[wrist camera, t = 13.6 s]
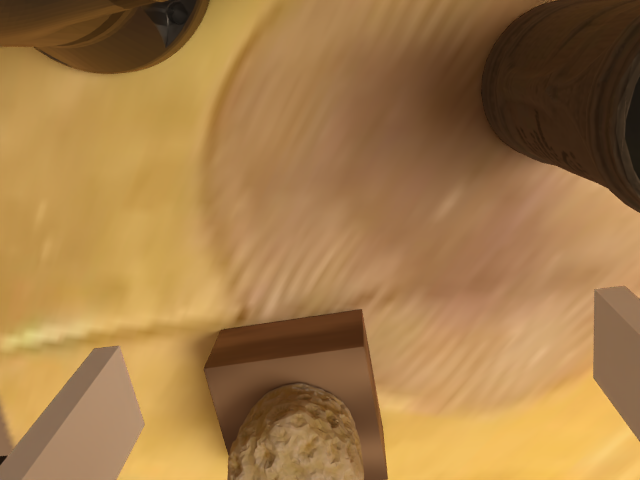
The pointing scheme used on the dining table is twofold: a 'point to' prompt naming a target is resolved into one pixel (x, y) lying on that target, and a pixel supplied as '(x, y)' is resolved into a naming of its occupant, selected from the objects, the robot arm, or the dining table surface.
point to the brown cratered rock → (297, 438)
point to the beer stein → (572, 90)
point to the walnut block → (299, 373)
